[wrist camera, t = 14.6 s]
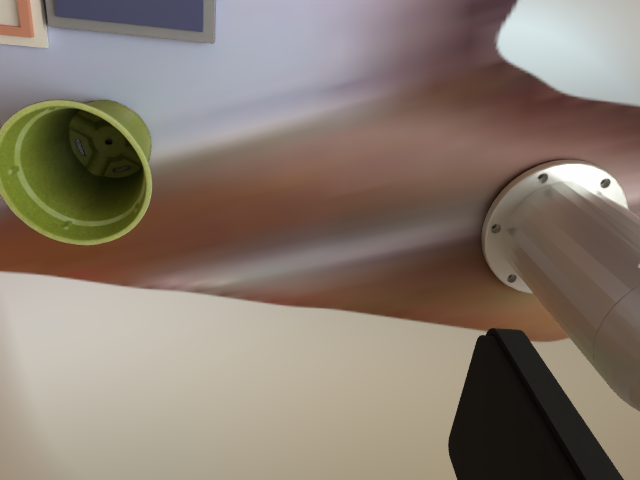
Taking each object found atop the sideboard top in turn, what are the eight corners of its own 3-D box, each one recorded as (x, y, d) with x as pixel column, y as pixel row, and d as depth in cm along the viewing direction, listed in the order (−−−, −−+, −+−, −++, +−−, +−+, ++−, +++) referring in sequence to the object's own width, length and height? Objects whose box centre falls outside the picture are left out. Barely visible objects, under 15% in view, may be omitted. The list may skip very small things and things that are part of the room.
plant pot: (145, 60, 38) (112, 81, 30) (192, 179, 42) (173, 225, 34) (24, 95, 38) (-41, 124, 30) (82, 209, 42) (38, 261, 35)
